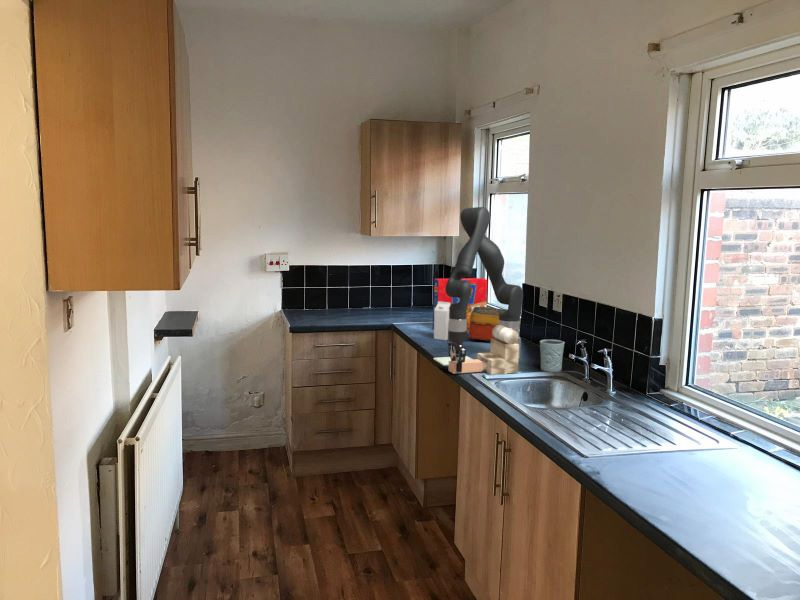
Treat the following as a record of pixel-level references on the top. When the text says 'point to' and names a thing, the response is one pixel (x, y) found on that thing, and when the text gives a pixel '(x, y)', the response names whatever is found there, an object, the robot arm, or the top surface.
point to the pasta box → (476, 298)
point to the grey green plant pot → (551, 355)
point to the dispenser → (501, 352)
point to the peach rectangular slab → (467, 366)
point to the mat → (447, 360)
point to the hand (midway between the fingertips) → (456, 370)
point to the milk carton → (441, 320)
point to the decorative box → (483, 323)
